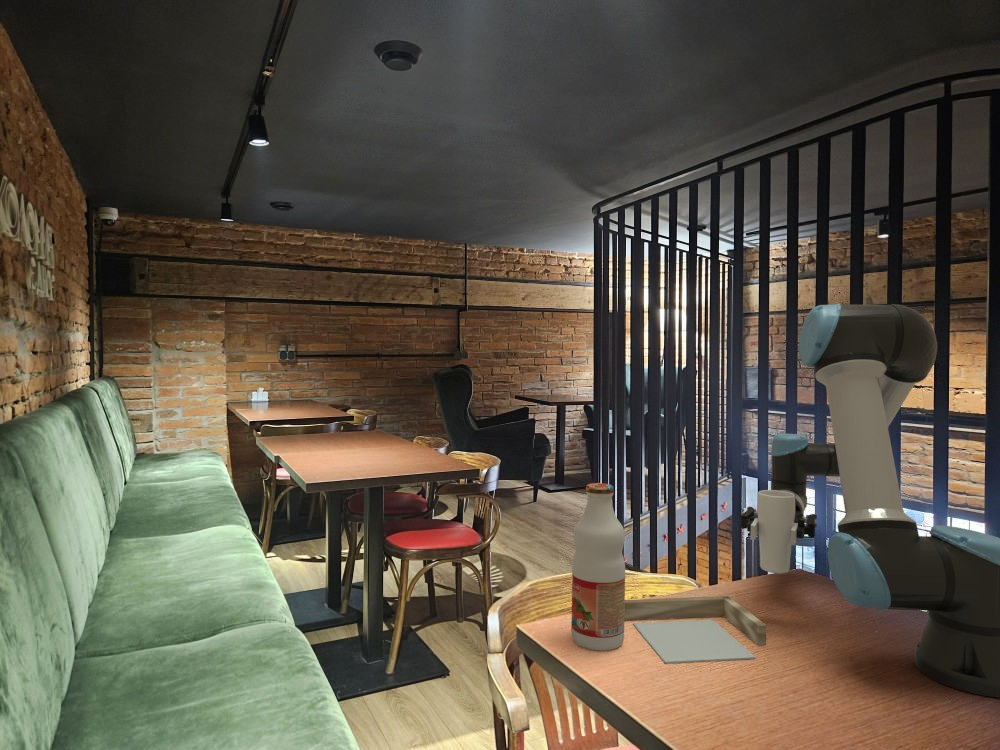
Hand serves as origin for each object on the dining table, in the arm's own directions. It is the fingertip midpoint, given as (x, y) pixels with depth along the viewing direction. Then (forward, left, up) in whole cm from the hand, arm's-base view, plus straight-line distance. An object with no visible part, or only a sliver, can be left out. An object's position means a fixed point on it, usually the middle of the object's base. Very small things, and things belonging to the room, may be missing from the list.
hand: (772, 535), depth 123 cm
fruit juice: (-1, +34, -18) cm, 38 cm away
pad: (-3, +17, -18) cm, 25 cm away
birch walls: (+1, +16, -18) cm, 24 cm away
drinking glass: (+4, -3, -8) cm, 10 cm away
